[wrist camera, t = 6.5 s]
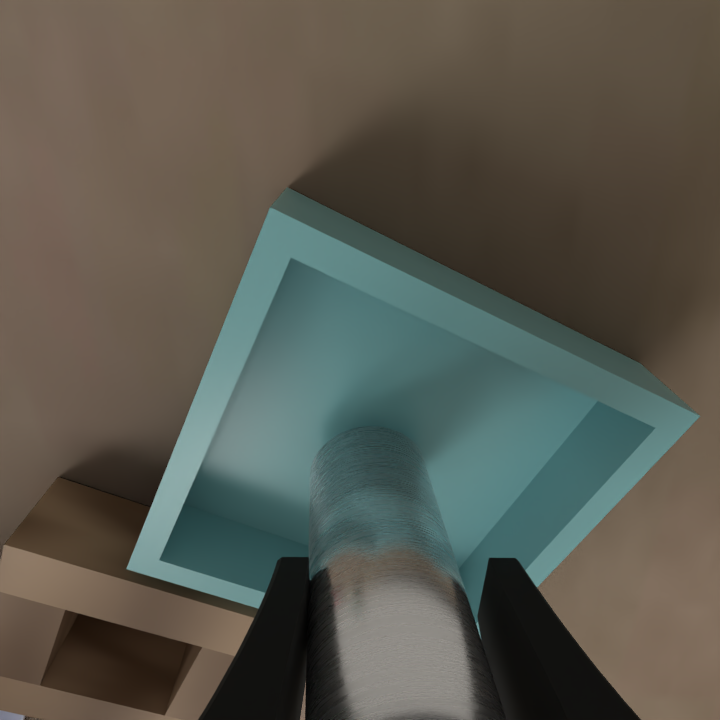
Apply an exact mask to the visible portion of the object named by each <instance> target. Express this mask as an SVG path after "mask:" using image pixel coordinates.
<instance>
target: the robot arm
mask: <svg viewBox="0 0 720 720" xmlns="http://www.w3.org/2000/svg"><path fill="white" fill-rule="evenodd" d="M309 584H310V575H309V557H281V558H280V559H279V560H277V563H276V566H275V569H274V572H273V575H272V578H271V580H270V583H269V586H268V588H267V590H266V593H265V595H264V598H263V600H262V602H261V604H260V606H259V609H258V611H257V613H256V615H255V617H254V619H253V621H252V623H251V625H250V628H249V630H248V632H247V634H246V636H245V638H244V640H243V642H242V644H241V646H240V648H239V650H238V651H237V653H236V655H235V657H234V659H233V661H232V662H231V664H230V666H229V668H228V670H227V671H226V673H225V675H224V677H223V678H222V680H221V682H220V684H219V686H218V687H217V689H216V691H215V693H214V694H213V696H212V698H211V699H210V701H209V703H208V704H207V706H206V708H205V709H204V711H203V713H202V714H201V716H200V717H199V719H198V720H300V715H301V708H302V702H303V695H304V688H305V681H306V659H307V616H308V599H309ZM477 618H478V624H479V630H480V636H481V641H482V644H483V647H484V650H485V653H486V657H487V660H488V663H489V666H490V669H491V672H492V675H493V679H494V682H495V685H496V688H497V691H498V694H499V697H500V701H501V704H502V707H503V710H504V713H505V716H506V719H507V720H641V719H640V718H639V717H638V716H637V715H636V714H635V712H634V711H633V710H632V709H631V708H630V707H629V706H628V704H627V703H626V702H625V701H624V700H623V699H622V698H621V696H620V695H619V694H618V693H617V692H616V690H615V689H614V688H613V687H612V686H611V684H610V683H609V682H608V681H607V680H606V678H605V677H604V676H603V675H602V674H601V672H600V671H599V670H598V669H597V667H596V666H595V665H594V664H593V662H592V661H591V660H590V659H589V657H588V656H587V655H586V654H585V652H584V651H583V650H582V648H581V647H580V646H579V644H578V643H577V642H576V641H575V639H574V638H573V637H572V635H571V634H570V633H569V631H568V630H567V629H566V627H565V626H564V625H563V623H562V622H561V621H560V619H559V618H558V617H557V615H556V614H555V613H554V611H553V610H552V608H551V607H550V606H549V604H548V603H547V601H546V600H545V599H544V597H543V596H542V594H541V593H540V591H539V590H538V589H537V587H536V586H535V584H534V583H533V581H532V580H531V578H530V577H529V575H528V574H527V572H526V571H525V569H524V568H523V566H522V565H521V563H520V562H519V561H518V560H517V559H516V558H489V560H488V565H487V570H486V575H485V580H484V585H483V590H482V595H481V600H480V605H479V610H478V615H477ZM24 719H25V716H24V715H19V714H15V713H11V712H6V711H2V710H0V720H24Z"/></svg>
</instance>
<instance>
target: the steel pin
mask: <svg viewBox="0 0 720 720" xmlns="http://www.w3.org/2000/svg"><path fill="white" fill-rule="evenodd" d="M309 575H310V584H309V599H308V616H307V659H306V710H305V720H507V719H506V716H505V713H504V710H503V707H502V704H501V701H500V697H499V694H498V691H497V688H496V685H495V682H494V679H493V675H492V672H491V669H490V666H489V663H488V660H487V657H486V653H485V650H484V647H483V644H482V641H481V638H480V635H479V632H478V628H477V625H476V622H475V619H474V616H473V613H472V610H471V606H470V603H469V600H468V597H467V594H466V591H465V588H464V584H463V581H462V578H461V575H460V572H459V569H458V566H457V563H456V559H455V556H454V553H453V550H452V547H451V544H450V541H449V537H448V534H447V531H446V528H445V525H444V522H443V519H442V515H441V512H440V509H439V506H438V503H437V500H436V497H435V493H434V490H433V487H432V484H431V481H430V478H429V475H428V472H427V468H426V465H425V462H424V459H423V456H422V454H421V452H420V450H419V448H418V447H417V446H416V445H415V443H414V442H413V441H412V440H410V439H409V438H408V437H407V436H405V435H404V434H402V433H400V432H398V431H395V430H392V429H389V428H385V427H378V426H365V427H358V428H354V429H350V430H347V431H344V432H342V433H340V434H338V435H336V436H335V437H333V438H332V439H330V440H329V441H328V442H327V443H325V444H324V445H323V446H322V448H321V449H320V450H319V451H318V453H317V454H316V456H315V458H314V460H313V463H312V466H311V471H310V506H309Z"/></svg>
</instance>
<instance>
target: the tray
mask: <svg viewBox="0 0 720 720" xmlns="http://www.w3.org/2000/svg"><path fill="white" fill-rule="evenodd" d="M699 417H700V416H699V415H698V414H697V413H696V412H695V411H694V410H693V409H692V408H690V407H689V406H688V405H687V404H686V403H685V402H684V401H682V400H681V399H680V398H679V397H678V396H677V395H676V394H674V393H673V392H672V391H671V390H670V389H669V388H668V387H666V386H665V385H664V384H663V383H662V382H661V381H660V380H659V379H657V378H656V377H655V376H654V375H653V374H652V373H651V372H649V371H648V370H647V369H646V368H645V367H644V366H643V365H641V364H640V363H638V362H636V361H634V360H632V359H630V358H628V357H626V356H624V355H622V354H620V353H618V352H616V351H614V350H612V349H610V348H608V347H606V346H604V345H602V344H600V343H598V342H596V341H594V340H592V339H590V338H588V337H586V336H584V335H582V334H580V333H578V332H576V331H574V330H572V329H570V328H568V327H566V326H564V325H562V324H560V323H558V322H556V321H554V320H552V319H550V318H548V317H546V316H544V315H542V314H540V313H538V312H536V311H534V310H532V309H530V308H528V307H526V306H524V305H522V304H520V303H518V302H516V301H514V300H512V299H510V298H508V297H506V296H504V295H502V294H500V293H498V292H496V291H494V290H492V289H490V288H488V287H486V286H484V285H482V284H480V283H478V282H476V281H474V280H472V279H470V278H468V277H466V276H464V275H462V274H460V273H458V272H456V271H454V270H452V269H450V268H448V267H446V266H444V265H442V264H440V263H438V262H436V261H434V260H432V259H430V258H428V257H426V256H424V255H422V254H420V253H418V252H416V251H414V250H412V249H410V248H408V247H406V246H404V245H402V244H400V243H398V242H396V241H394V240H392V239H390V238H388V237H386V236H384V235H382V234H380V233H378V232H376V231H374V230H372V229H370V228H368V227H366V226H364V225H362V224H360V223H358V222H356V221H354V220H352V219H350V218H348V217H346V216H344V215H342V214H340V213H338V212H336V211H334V210H332V209H330V208H328V207H326V206H324V205H322V204H320V203H318V202H316V201H314V200H312V199H310V198H308V197H306V196H304V195H302V194H300V193H298V192H296V191H294V190H292V189H290V188H288V187H287V188H286V189H285V190H284V192H283V193H282V194H281V195H280V196H279V197H278V199H277V200H276V201H275V202H274V203H273V205H272V206H271V207H270V209H269V211H268V214H267V217H266V219H265V222H264V224H263V227H262V229H261V232H260V234H259V237H258V239H257V242H256V244H255V247H254V249H253V252H252V254H251V257H250V259H249V262H248V264H247V267H246V269H245V272H244V274H243V277H242V279H241V282H240V284H239V287H238V289H237V292H236V294H235V297H234V299H233V302H232V304H231V307H230V310H229V312H228V315H227V317H226V320H225V322H224V325H223V327H222V330H221V332H220V335H219V337H218V340H217V342H216V345H215V347H214V350H213V352H212V355H211V357H210V360H209V362H208V365H207V367H206V370H205V372H204V375H203V377H202V380H201V382H200V385H199V387H198V390H197V392H196V395H195V397H194V400H193V403H192V405H191V408H190V410H189V413H188V415H187V418H186V420H185V423H184V425H183V428H182V430H181V433H180V435H179V438H178V440H177V443H176V445H175V448H174V450H173V453H172V455H171V458H170V460H169V463H168V465H167V468H166V470H165V473H164V475H163V478H162V480H161V483H160V485H159V488H158V491H157V493H156V496H155V498H154V501H153V503H152V506H151V508H150V511H149V513H148V516H147V518H146V521H145V523H144V526H143V528H142V531H141V533H140V536H139V538H138V541H137V543H136V546H135V548H134V551H133V553H132V556H131V558H130V561H129V563H128V566H127V568H126V569H128V570H131V571H134V572H138V573H141V574H144V575H148V576H151V577H154V578H158V579H161V580H164V581H168V582H171V583H174V584H178V585H181V586H185V587H188V588H191V589H195V590H198V591H201V592H205V593H208V594H211V595H215V596H218V597H221V598H225V599H228V600H231V601H235V602H238V603H241V604H245V605H248V606H251V607H255V608H258V609H259V606H260V604H261V602H262V600H263V598H264V595H265V593H266V590H267V588H268V586H269V583H270V580H271V578H272V575H273V572H274V569H275V566H276V563H277V560H279V559H280V558H281V557H309V506H310V471H311V466H312V463H313V460H314V458H315V456H316V454H317V453H318V451H319V450H320V449H321V448H322V446H323V445H324V444H325V443H327V442H328V441H329V440H330V439H332V438H333V437H335V436H336V435H338V434H340V433H342V432H344V431H347V430H350V429H354V428H358V427H365V426H378V427H385V428H389V429H392V430H395V431H398V432H400V433H402V434H404V435H405V436H407V437H408V438H409V439H410V440H412V441H413V442H414V443H415V445H416V446H417V447H418V448H419V450H420V452H421V454H422V456H423V459H424V462H425V465H426V468H427V472H428V475H429V478H430V481H431V484H432V487H433V490H434V493H435V497H436V500H437V503H438V506H439V509H440V512H441V515H442V519H443V522H444V525H445V528H446V531H447V534H448V537H449V541H450V544H451V547H452V550H453V553H454V556H455V559H456V563H457V566H458V569H459V572H460V575H461V578H462V581H463V584H464V588H465V591H466V594H467V597H468V600H469V603H470V606H471V610H472V613H473V616H474V619H475V622H476V625H477V628H478V632H479V635H480V630H479V624H478V618H477V615H478V610H479V605H480V600H481V595H482V590H483V585H484V580H485V575H486V570H487V565H488V560H489V558H516V559H517V560H518V561H519V562H520V563H521V565H522V566H523V568H524V569H525V571H526V572H527V574H528V575H529V577H530V578H531V580H532V581H533V583H534V584H535V586H536V587H538V586H539V585H540V584H541V583H542V582H543V581H544V579H545V578H546V577H547V576H548V575H549V574H550V573H551V572H552V571H553V570H554V569H555V568H556V567H557V566H558V565H559V564H560V563H561V562H562V561H563V560H564V559H565V557H566V556H567V555H568V554H569V553H570V552H571V551H572V550H573V549H574V548H575V547H576V546H577V545H578V544H579V543H580V542H581V541H582V540H583V539H584V538H585V537H586V535H587V534H588V533H589V532H590V531H591V530H592V529H593V528H594V527H595V526H596V525H597V524H598V523H599V522H600V521H601V520H602V519H603V518H604V517H605V516H606V514H607V513H608V512H609V511H610V510H611V509H612V508H613V507H614V506H615V505H616V504H617V503H618V502H619V501H620V500H621V499H622V498H623V497H624V496H625V495H626V494H627V492H628V491H629V490H630V489H631V488H632V487H633V486H634V485H635V484H636V483H637V482H638V481H639V480H640V479H641V478H642V477H643V476H644V475H645V474H646V473H647V472H648V470H649V469H650V468H651V467H652V466H653V465H654V464H655V463H656V462H657V461H658V460H659V459H660V458H661V457H662V456H663V455H664V454H665V453H666V452H667V451H668V450H669V448H670V447H671V446H672V445H673V444H674V443H675V442H676V441H677V440H678V439H679V438H680V437H681V436H682V435H683V434H684V433H685V432H686V431H687V430H688V429H689V427H690V426H691V425H692V424H693V423H694V422H695V421H696V420H697V419H698V418H699ZM480 638H481V636H480Z"/></svg>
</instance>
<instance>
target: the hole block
mask: <svg viewBox="0 0 720 720" xmlns="http://www.w3.org/2000/svg"><path fill="white" fill-rule="evenodd" d="M150 508H151V507H148V506H145V505H142V504H139V503H136V502H133V501H130V500H126V499H123V498H120V497H117V496H114V495H111V494H108V493H105V492H102V491H99V490H96V489H93V488H90V487H87V486H84V485H81V484H78V483H75V482H72V481H69V480H66V479H63V478H60V477H58V478H57V479H56V481H55V482H54V483H53V484H52V485H51V487H50V488H49V489H48V490H47V492H46V493H45V494H44V495H43V497H42V498H41V499H40V500H39V502H38V503H37V504H36V505H35V507H34V508H33V509H32V510H31V512H30V513H29V514H28V515H27V517H26V518H25V519H24V520H23V522H22V523H21V524H20V525H19V527H18V528H17V529H16V530H15V532H14V533H13V534H12V535H11V537H10V538H9V539H8V540H7V542H6V543H5V544H4V547H3V552H2V556H1V560H0V710H2V711H6V712H11V713H15V714H19V715H24V716H28V717H33V718H37V719H42V720H198V719H199V717H200V716H201V714H202V713H203V711H204V709H205V708H206V706H207V704H208V703H209V701H210V699H211V698H212V696H213V694H214V693H215V691H216V689H217V687H218V686H219V684H220V682H221V680H222V678H223V677H224V675H225V673H226V671H227V670H228V668H229V666H230V664H231V662H232V661H233V659H234V657H235V655H236V653H237V651H238V650H239V648H240V646H241V644H242V642H243V640H244V638H245V636H246V634H247V632H248V630H249V628H250V625H251V623H252V621H253V619H254V617H255V615H256V613H257V611H258V608H255V607H251V606H248V605H245V604H241V603H238V602H235V601H231V600H228V599H225V598H221V597H218V596H215V595H211V594H208V593H205V592H201V591H198V590H195V589H191V588H188V587H185V586H181V585H178V584H174V583H171V582H168V581H164V580H161V579H158V578H154V577H151V576H148V575H144V574H141V573H138V572H134V571H131V570H128V569H126V568H127V566H128V563H129V561H130V558H131V556H132V553H133V551H134V548H135V546H136V543H137V541H138V538H139V536H140V533H141V531H142V528H143V526H144V523H145V521H146V518H147V516H148V513H149V511H150Z"/></svg>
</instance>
